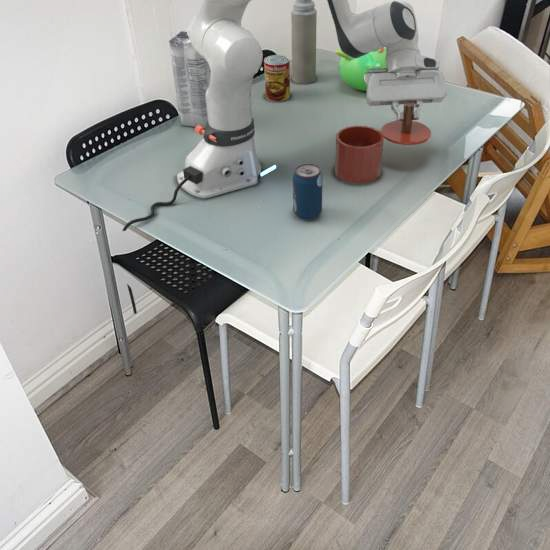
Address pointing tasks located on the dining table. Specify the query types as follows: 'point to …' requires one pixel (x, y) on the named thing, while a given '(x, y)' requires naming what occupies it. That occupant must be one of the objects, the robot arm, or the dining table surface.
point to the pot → (358, 154)
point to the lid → (406, 129)
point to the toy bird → (360, 67)
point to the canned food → (277, 77)
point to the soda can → (307, 191)
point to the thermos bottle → (303, 41)
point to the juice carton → (190, 81)
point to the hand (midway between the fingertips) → (408, 119)
